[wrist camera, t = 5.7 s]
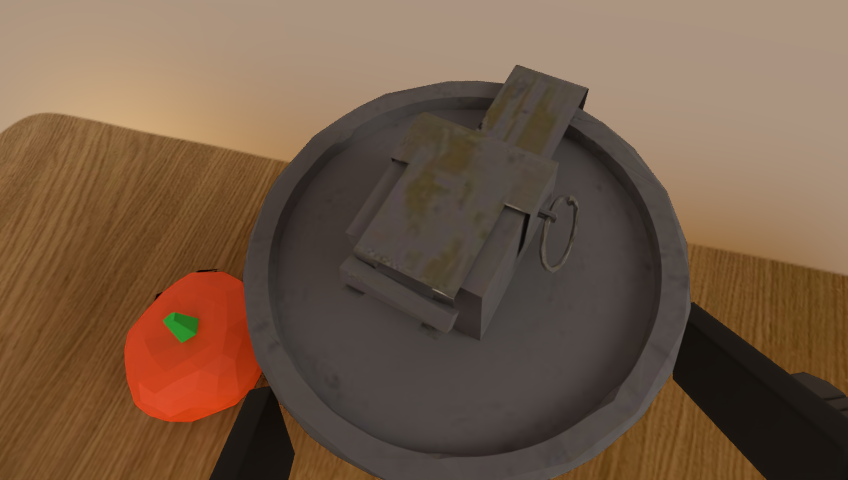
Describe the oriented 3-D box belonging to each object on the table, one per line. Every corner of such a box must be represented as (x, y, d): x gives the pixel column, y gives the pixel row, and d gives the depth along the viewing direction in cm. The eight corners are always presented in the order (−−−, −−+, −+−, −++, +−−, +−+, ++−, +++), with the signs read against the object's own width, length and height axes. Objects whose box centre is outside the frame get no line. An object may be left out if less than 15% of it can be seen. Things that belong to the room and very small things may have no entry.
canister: (515, 536, 24) (634, 663, 6) (335, 426, 27) (67, 301, 9) (598, 336, 28) (818, 64, 10) (431, 258, 31) (373, -59, 13)
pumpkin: (131, 393, 29) (46, 369, 23) (215, 274, 32) (158, 226, 26) (230, 455, 27) (165, 445, 21) (311, 322, 30) (272, 281, 24)
